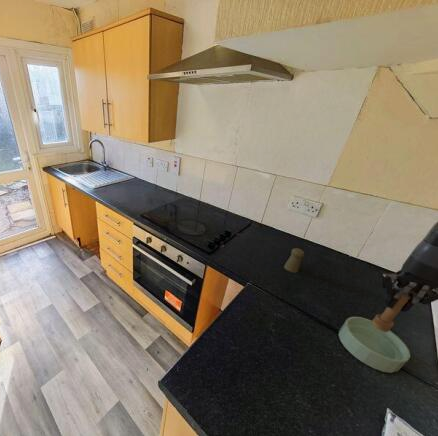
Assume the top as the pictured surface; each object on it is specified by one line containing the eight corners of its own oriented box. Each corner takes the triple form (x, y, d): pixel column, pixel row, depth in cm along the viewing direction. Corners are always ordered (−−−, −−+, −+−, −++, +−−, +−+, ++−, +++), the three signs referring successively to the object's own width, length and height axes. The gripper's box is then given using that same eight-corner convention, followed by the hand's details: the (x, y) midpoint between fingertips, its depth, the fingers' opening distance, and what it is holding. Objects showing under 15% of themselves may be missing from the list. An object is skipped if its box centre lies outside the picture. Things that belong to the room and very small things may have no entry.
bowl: (384, 339, 77) (394, 327, 75) (409, 383, 65) (422, 371, 62) (332, 322, 83) (339, 310, 80) (346, 359, 70) (355, 347, 67)
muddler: (385, 323, 70) (409, 292, 64) (391, 334, 67) (418, 302, 61) (369, 318, 72) (391, 288, 66) (374, 328, 68) (399, 297, 62)
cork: (286, 263, 113) (294, 244, 108) (299, 269, 110) (308, 250, 105) (282, 268, 109) (290, 249, 104) (296, 274, 106) (304, 255, 101)
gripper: (405, 259, 57) (370, 308, 65) (482, 277, 52) (434, 327, 60) (390, 245, 63) (360, 291, 71) (458, 259, 59) (418, 307, 66)
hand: (394, 307), depth 66 cm, fingers closed on muddler, 2 cm apart
